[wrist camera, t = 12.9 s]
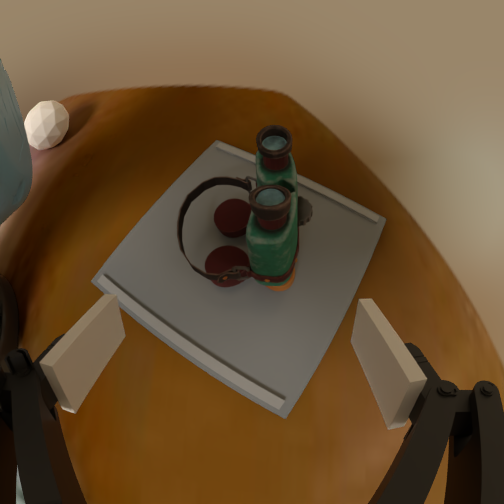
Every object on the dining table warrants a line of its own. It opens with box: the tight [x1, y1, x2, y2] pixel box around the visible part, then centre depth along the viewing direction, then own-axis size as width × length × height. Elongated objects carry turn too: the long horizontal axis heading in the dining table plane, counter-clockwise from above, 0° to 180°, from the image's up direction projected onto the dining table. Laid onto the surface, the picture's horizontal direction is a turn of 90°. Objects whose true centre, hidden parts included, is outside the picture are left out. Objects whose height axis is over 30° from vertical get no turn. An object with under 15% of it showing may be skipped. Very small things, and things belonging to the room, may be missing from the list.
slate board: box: [91, 140, 386, 419], centre depth 25 cm, size 20×20×2 cm
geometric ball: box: [24, 100, 69, 150], centre depth 31 cm, size 8×8×8 cm
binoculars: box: [177, 125, 313, 291], centre depth 20 cm, size 9×11×10 cm
